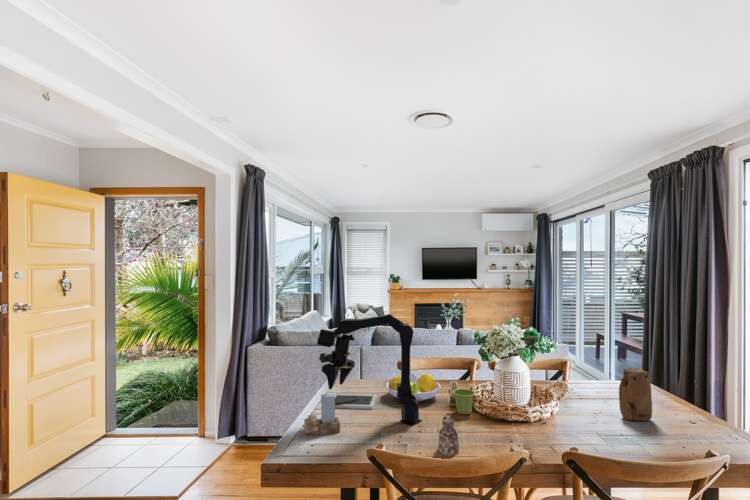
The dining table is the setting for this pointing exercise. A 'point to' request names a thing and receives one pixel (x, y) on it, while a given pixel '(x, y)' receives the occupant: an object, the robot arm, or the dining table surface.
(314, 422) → the offcut stack
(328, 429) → the rack
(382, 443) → the dining table surface
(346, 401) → the picture frame
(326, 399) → the light blue tall bar
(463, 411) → the plant pot
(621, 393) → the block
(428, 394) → the fruit bowl
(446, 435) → the figurine
